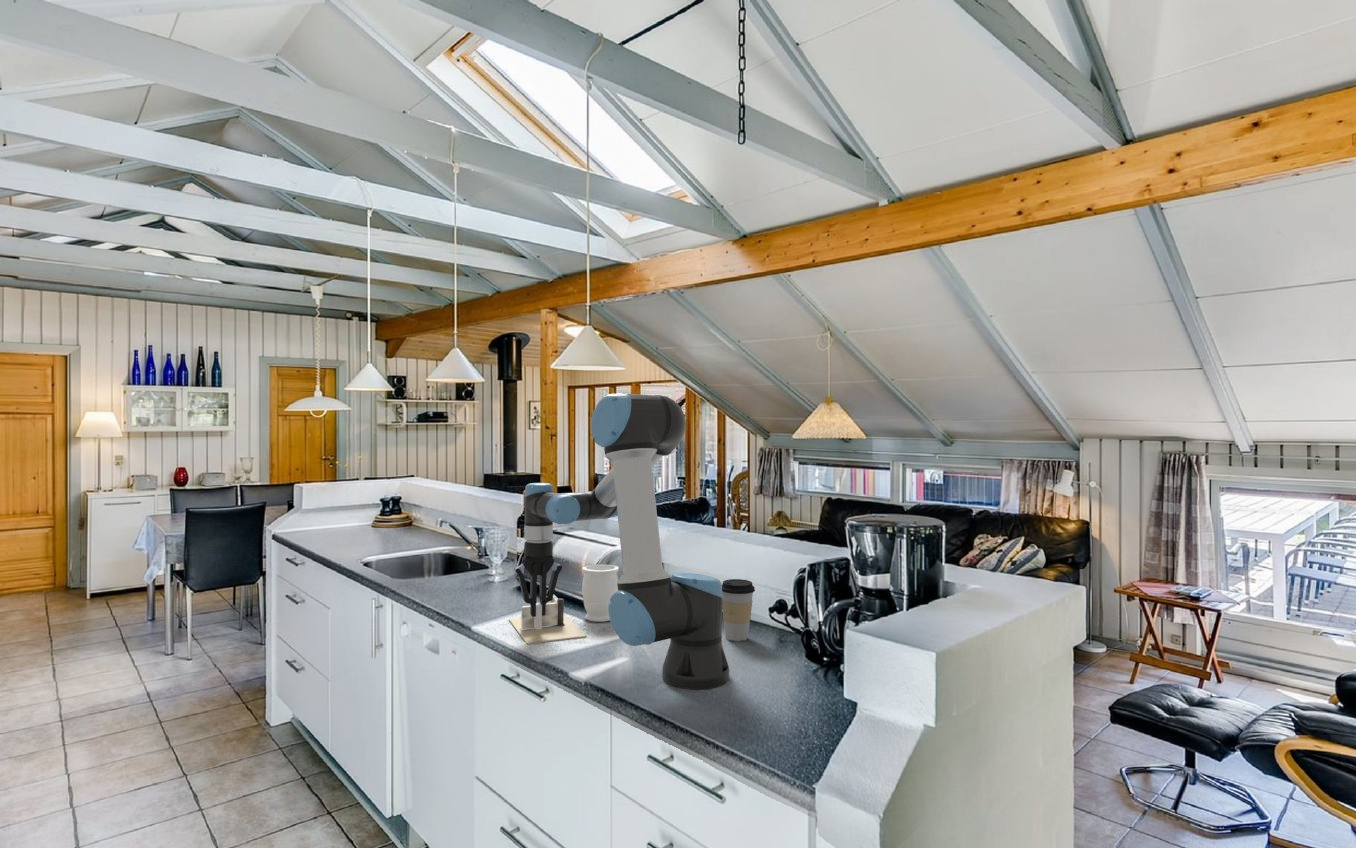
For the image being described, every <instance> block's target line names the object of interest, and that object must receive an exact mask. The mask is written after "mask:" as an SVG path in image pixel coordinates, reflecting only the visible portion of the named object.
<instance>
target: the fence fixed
mask: <svg viewBox="0 0 1356 848" xmlns="http://www.w3.org/2000/svg"><path fill="white" fill-rule="evenodd" d="M547 591H548V589H546V592H547ZM557 599H559V598H558V597H557V596H556V595H555V594H554V595H553V599H552V601H549V602H547V603H554V602H557ZM564 625H565V624H564V623H563V624H560V625H559V624H558V625H556V626H564Z"/></svg>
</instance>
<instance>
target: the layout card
mask: <svg viewBox="0 0 1356 848" xmlns="http://www.w3.org/2000/svg"><path fill="white" fill-rule="evenodd" d="M521 618H522V617H515V618H514V617H513V618H508V621H509V623H510V624H511V625H512V626H513V628H514V630H515V631H516V632H517V633H518V635H519V636H520V637H521V639H522V640H523V641H524V642H525V643H524V644H526V645H532V644H540V643H541V644H542V643H550V642H558V641H565V640H566V641H567V640H572V639H573V640H575V639H581V638H582V639H583V638H587V634H585V633H584V632H583V631H582V630H581V629H580V628H579V627H578V626H576V624H575V623H574V622H573V621H572V620H571V619H570V618H568V616H567V615H566V614H564V621H563V623H564V624H565V625H564V626H556V625H551V626H544V627H542V629H538V630H536V629H535V628H531V629H524V630H523V629H521Z"/></svg>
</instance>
